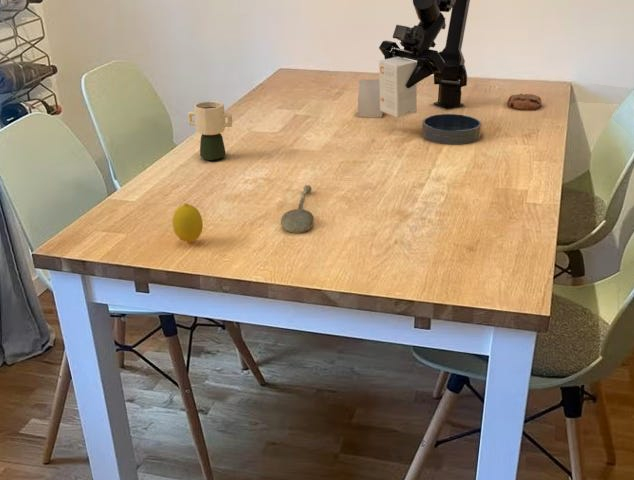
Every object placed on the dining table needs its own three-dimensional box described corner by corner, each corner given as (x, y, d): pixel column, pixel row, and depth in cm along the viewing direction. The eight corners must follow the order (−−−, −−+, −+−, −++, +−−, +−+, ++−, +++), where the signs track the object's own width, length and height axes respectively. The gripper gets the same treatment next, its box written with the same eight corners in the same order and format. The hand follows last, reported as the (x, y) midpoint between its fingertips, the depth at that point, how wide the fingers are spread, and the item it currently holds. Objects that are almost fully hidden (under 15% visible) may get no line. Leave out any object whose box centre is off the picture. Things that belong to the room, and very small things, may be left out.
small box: (417, 112, 200) (417, 61, 193) (397, 118, 197) (396, 66, 190) (398, 105, 206) (398, 55, 199) (379, 110, 203) (378, 60, 196)
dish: (410, 133, 205) (410, 120, 203) (453, 123, 212) (454, 111, 210) (448, 148, 194) (449, 134, 192) (492, 137, 201) (493, 124, 199)
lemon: (176, 237, 149) (171, 198, 145) (204, 236, 149) (201, 197, 145) (174, 249, 144) (169, 210, 140) (203, 248, 145) (200, 208, 140)
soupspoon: (278, 235, 151) (311, 238, 150) (278, 220, 149) (311, 222, 149) (293, 190, 169) (323, 193, 169) (293, 176, 167) (323, 178, 167)
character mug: (238, 154, 191) (235, 101, 184) (230, 164, 185) (227, 109, 178) (196, 152, 193) (191, 100, 186) (187, 161, 187) (182, 108, 180)
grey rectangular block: (381, 117, 218) (382, 81, 212) (357, 116, 219) (358, 80, 214) (383, 113, 221) (384, 78, 216) (359, 112, 222) (360, 77, 217)
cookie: (546, 103, 228) (548, 93, 227) (534, 112, 221) (536, 101, 219) (514, 99, 233) (515, 89, 231) (501, 107, 225) (502, 97, 224)
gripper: (385, 7, 197) (353, 58, 197) (440, 16, 185) (406, 71, 185) (404, 35, 206) (374, 84, 205) (459, 45, 194) (426, 98, 193)
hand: (394, 84), depth 197 cm, fingers closed on small box, 8 cm apart
